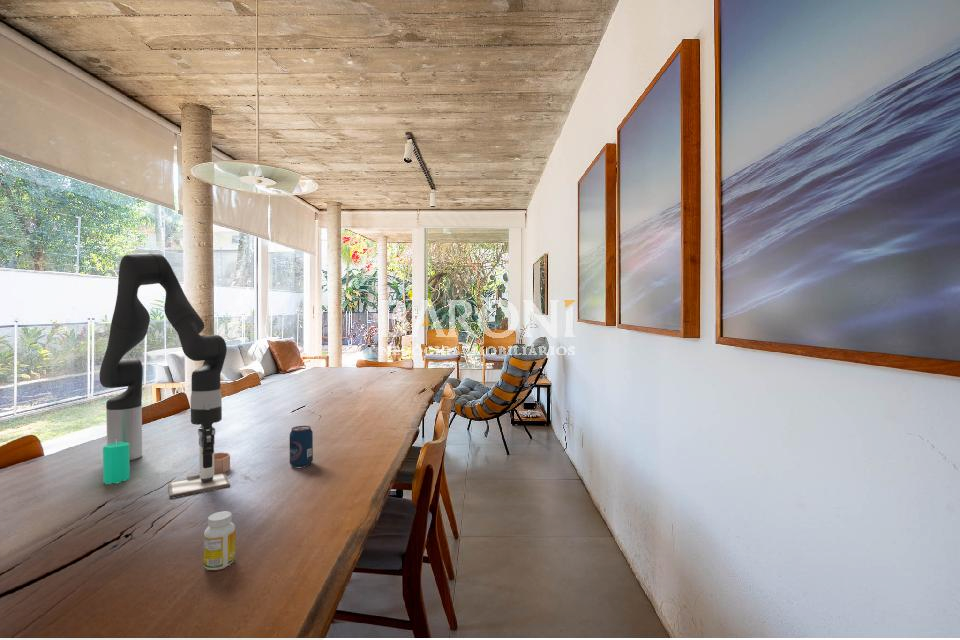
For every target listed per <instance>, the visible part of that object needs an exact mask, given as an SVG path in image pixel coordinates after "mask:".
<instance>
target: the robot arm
mask: <svg viewBox="0 0 960 640" xmlns="http://www.w3.org/2000/svg"><path fill="white" fill-rule="evenodd" d="M117 279H118V280H117V281H118V282H117V294H116V295H117V296H116V300H115V305H114V309H113V313H112V317H111V323H110V330H109V335H108V336H109V337H108V342H107V346H106V350H105V352H104V356H103V359H102V362H101V366H100V371H99V383H100V384H101V386H102V387H103V388H106V389H114V388H125V387H127V388H126V390H125V391H123V392H122V393H120V394H119V395H116V396H114V397H111V398H109V399H108V400H106V405H105V406H106V407H105V408H106V415H105V416H106V445H108V444H112V443H116V439H117V442H125V443H129V461H133V460H138V458H141V457H142V456H143V412H142V410H143V408H142V407H143V405H142V401H143V379H144V376H143V375H144V373H143V372H144V367H143V363H142V362H141V360H140V359H139V358H123V357H124V356H125V355H126V354H128V352H130V351H131V350H133V349H134V348H135V347H137V346H138V345H139V344H140V343H141V342H142V341H143V340H144V339H145V338H146V336H147V334H148V330H149V326H150V321H151V316H150V314H149V311H148V310H147V308H146V307H145V305H144V304H143V303H142V302H141V301H140V299H139V297H138V294H139V293H138V291H139V288H140V287H141V286H149V285H156V284H159V285H160V286H161V287H162V288H163V289H164V292H165V300H164V307H163V311H164V314H165V317H166V318H167V320H168V323H170V325H171V326H172V328H173V329H174V330H175V332H176V333H177V335H178V340H179V342H180V345H181V350H182V351H183V352H182V353H183V354H184V355H185V356H186V357H187V358H188V359H189V360H191V361H194V362H201V361H203V364H202V366H201V367H199V368H197V369H195V370H194V371H193V372H192V373H191V395H190V423H191V424H192V425H197V426H199V428H197V433H198V439H199V438H200V446H201V447H202V454H203V468H210V467H212V454H213V452H214V453H215V444H216V441H215V435H216V428H215V426H213V424H214V423H216V424H217V423H219V422H221V421H222V419H223V412H222V411H223V406H222V405H223V404H222V403H223V401H222V398H223V397H222V391H221V374H222V373H221V372H222V371H223V368H224V362H225V360H226V356H227V352H228V351H227V349H228V348H227V347H228V346H227V342H226V340H225V339H224V338H223V337H222V336H220V335H219V334H205V335H201V333H202V332H203V331H204V329H205V322H204V320H203V319H202V318H201V316H200V315H199V314H198V313H197V311H196V310H195V308H194V307H193V306H192V304H191V303H190V301H189V300H188V297H187V295H186V294H185V292H184V291H183V288H182V286H181V284H180V282H179V280H178V278H177V275H176V273H175V271H174V270H173V268H172V266H171V265H170V262H169V261H168V260H167V258H166V257H165V256H164V255H163V254H161V253H158V252H144V253H143V252H142V253H141V252H139V253H128V254H125V255H124V256H122V257H121V260H120V262H119V267H118V278H117ZM202 440H203V442H202ZM208 447H210V449H209V450H205V449H206V448H208Z"/></svg>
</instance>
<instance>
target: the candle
mask: <svg viewBox="0 0 960 640" xmlns="http://www.w3.org/2000/svg"><path fill="white" fill-rule="evenodd" d="M102 466H103V467H102V468H103V469H102V470H103V472H102V473H103V474H102V477H103V481H102V482H103V483H102V484H104V483H115V484H118V483H117V482H120V483H122V482H121V481H124V482H126V481H128V480H130V478H131V475H130V474H131V473H130V470H131V469H130V460H129V443H125V442H117V439H116V443H112V444H108V445H107V444H106V445H103V446H102ZM129 477H130V478H129ZM127 479H128V480H127ZM125 480H126V481H125Z"/></svg>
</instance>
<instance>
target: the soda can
mask: <svg viewBox="0 0 960 640" xmlns="http://www.w3.org/2000/svg"><path fill="white" fill-rule="evenodd" d="M313 438H314V435H313V431H312V429H311V426H310V425H297V426H294V427H291V431H290V432H289V464H290V466H291V467H292V466H293V467H292V468H294V467H303V468H305V467H304V466H307V467H309V466H311V464H312V462H313V459H314V458H313V457H314V452H313V451H314V449H313V448H314V444H313V443H314V442H313V441H314V440H313ZM308 465H309V466H308Z"/></svg>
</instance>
